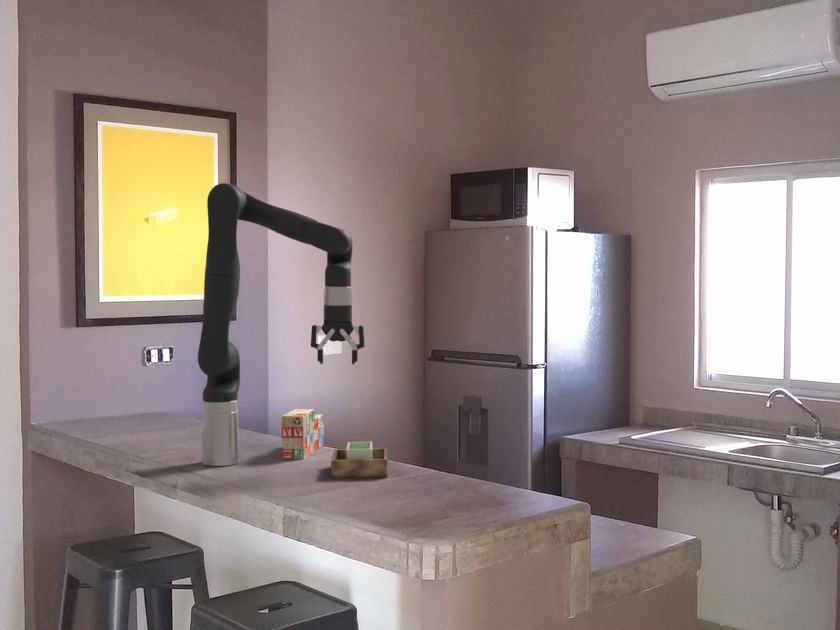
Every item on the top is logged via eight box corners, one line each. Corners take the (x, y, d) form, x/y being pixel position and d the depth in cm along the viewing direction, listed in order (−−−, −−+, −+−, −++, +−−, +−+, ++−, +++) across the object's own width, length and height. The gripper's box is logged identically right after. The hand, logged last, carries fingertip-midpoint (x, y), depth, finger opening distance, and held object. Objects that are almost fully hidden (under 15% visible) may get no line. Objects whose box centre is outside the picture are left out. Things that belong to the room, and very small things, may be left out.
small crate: (346, 473, 240) (346, 449, 240) (348, 464, 250) (347, 442, 250) (372, 472, 240) (371, 449, 240) (372, 464, 250) (372, 441, 250)
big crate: (331, 478, 238) (331, 460, 237) (334, 466, 252) (334, 449, 252) (387, 477, 238) (387, 459, 238) (387, 465, 253) (387, 448, 252)
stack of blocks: (304, 444, 284) (303, 403, 283) (324, 445, 283) (323, 404, 282) (282, 459, 263) (281, 415, 262) (304, 459, 262) (303, 415, 261)
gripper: (309, 303, 250) (309, 365, 251) (363, 304, 250) (363, 365, 251) (312, 302, 258) (312, 362, 259) (365, 303, 258) (364, 362, 259)
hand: (337, 363), depth 255 cm, fingers open, 8 cm apart
